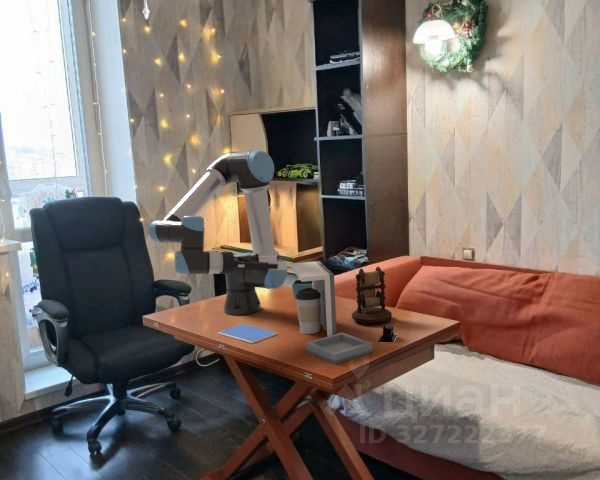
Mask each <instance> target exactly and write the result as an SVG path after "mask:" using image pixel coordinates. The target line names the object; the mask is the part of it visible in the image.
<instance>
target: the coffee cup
mask: <svg viewBox="0 0 600 480" xmlns="http://www.w3.org/2000/svg"><path fill="white" fill-rule="evenodd" d="M320 297H321V293H320V292H318V291H317V290H316V289H313V288H306V289H303V290H300V291H298V293H297V294H296V299H295V301H296V300H297V301H296V310H297V317H298V318H297V319H298V323H299V328H300V333H301V334H304V335H305V334H306V335H313V334H317V333H319V332H320V330H321V323H320V318H321V303H320Z"/></svg>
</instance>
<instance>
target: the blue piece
mask: <svg viewBox="0 0 600 480" xmlns="http://www.w3.org/2000/svg"><path fill="white" fill-rule="evenodd" d="M217 334H218V335H220V334H221V336H224V335H225V337H228V338H231V339H235V340H238V341H242V342H246V343H249V344H256V343H259V342H262V341H264V340H267V339H271V338H273V337H276V336H277V335H278V332H277V331H274V330H269V329H265V328H261V327H257V326H254V325H249V324H245V323H242V324H239V325H235V326H232V327H230V328H226V329H223V330H220V331H218V332H217ZM272 336H273V337H272Z"/></svg>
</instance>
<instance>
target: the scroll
mask: <svg viewBox="0 0 600 480" xmlns="http://www.w3.org/2000/svg"><path fill="white" fill-rule="evenodd" d="M385 273H386V272H385V271H383V270H382V269H381V267H380V266H377V267H376V268H375V271H366V272H365V271H364V269H363V268H360V269H359V271H358V273H357V274H355V280H356V287H355V291H356V294H357V295H356V298H357V299H356V303H357V304H356V306H357V309H356V310H355V311H353V312H352V313H351V318H352V320H354V321H356V322H359V323H360V322H362V323H363V325H364V326H366V325H367V323H380V322H385V321H387V323H390V321H391V319H392V317H393V314H392V312H391V311H390V310H389V309H387V308H386V301H385V300H386V298H387V297H386V293H385V290H386V284H385V275H386V274H385ZM379 283H380V284H379ZM379 289H380V290H381V291H379ZM376 290H377V291H376Z"/></svg>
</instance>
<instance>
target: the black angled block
mask: <svg viewBox="0 0 600 480" xmlns="http://www.w3.org/2000/svg"><path fill="white" fill-rule="evenodd" d="M394 327H395V326H394V325H393V324H392V325H391V324H384V326H383V328H382V334H383V336H382V335H381V336H382V337H381V336H380V338H379V339H380V340H379V339H378V341H379V342H394V340H395V338H396V336H397V335H395V334H396V333H395V328H394ZM379 342H378V343H379Z"/></svg>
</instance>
